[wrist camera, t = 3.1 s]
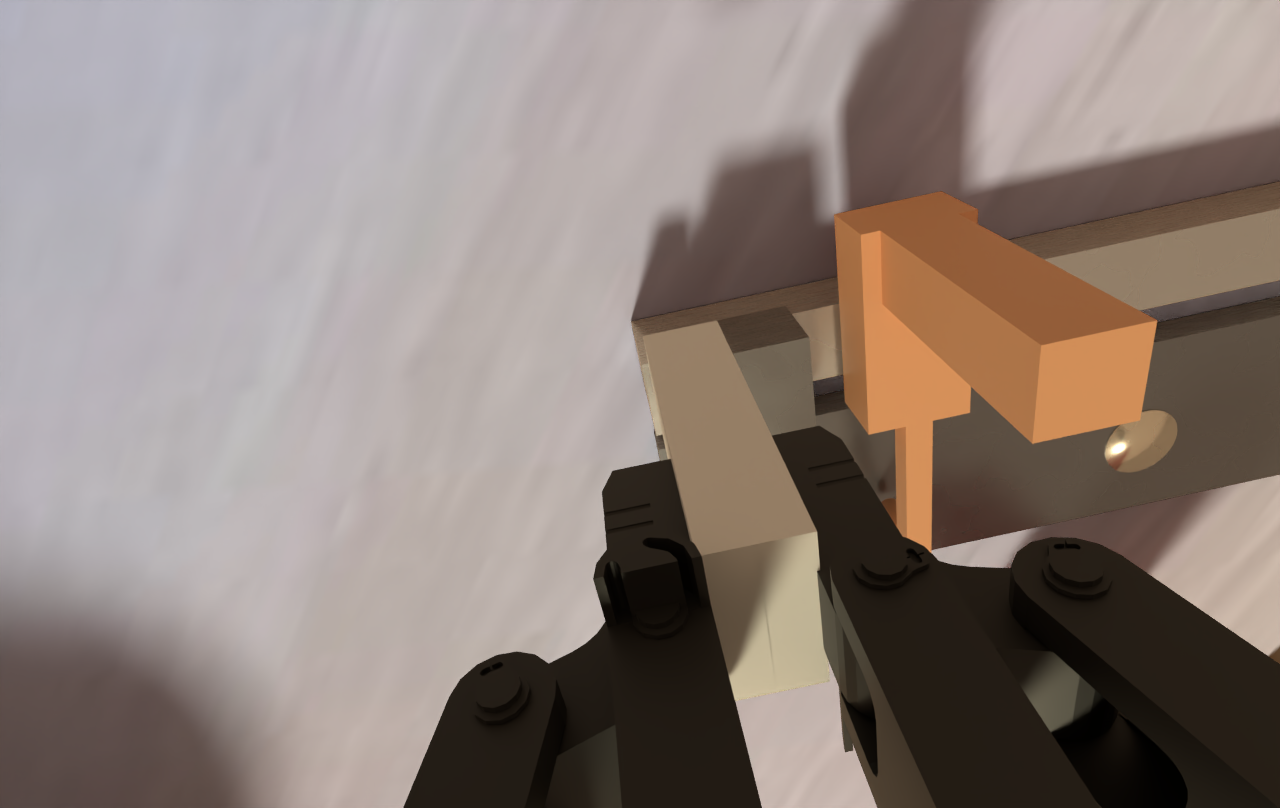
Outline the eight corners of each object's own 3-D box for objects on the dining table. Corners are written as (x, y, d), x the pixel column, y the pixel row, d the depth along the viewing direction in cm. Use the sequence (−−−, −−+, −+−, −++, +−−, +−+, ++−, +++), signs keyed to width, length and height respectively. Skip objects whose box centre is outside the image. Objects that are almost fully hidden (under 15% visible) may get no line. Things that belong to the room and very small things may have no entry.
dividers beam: (674, 531, 28) (693, 614, 24) (629, 312, 24) (644, 372, 20) (1298, 396, 28) (1413, 458, 24) (1369, 153, 24) (1523, 183, 20)
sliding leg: (847, 527, 26) (983, 770, 18) (828, 209, 21) (1012, 351, 13) (930, 509, 26) (1103, 744, 18) (932, 186, 21) (1186, 314, 13)
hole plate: (685, 580, 29) (690, 603, 28) (653, 431, 26) (658, 450, 25) (1282, 451, 29) (1310, 468, 28) (1330, 285, 26) (1364, 297, 25)
